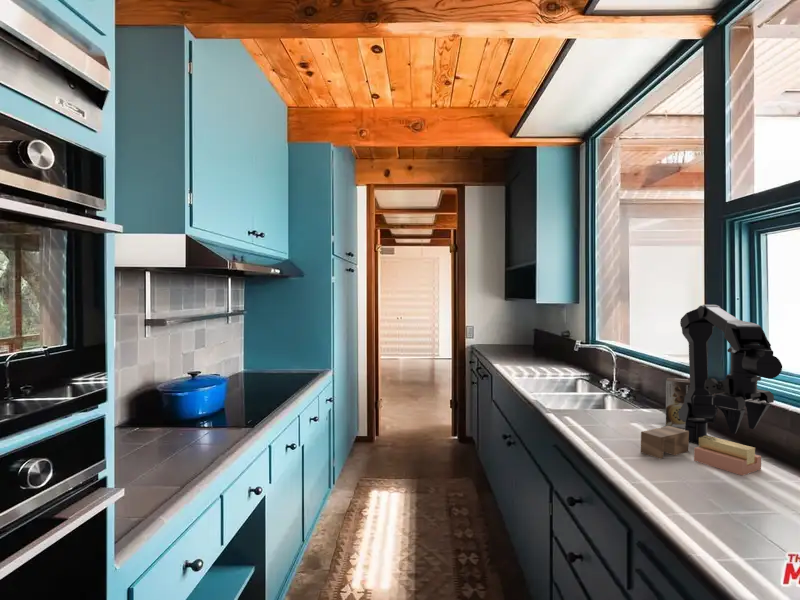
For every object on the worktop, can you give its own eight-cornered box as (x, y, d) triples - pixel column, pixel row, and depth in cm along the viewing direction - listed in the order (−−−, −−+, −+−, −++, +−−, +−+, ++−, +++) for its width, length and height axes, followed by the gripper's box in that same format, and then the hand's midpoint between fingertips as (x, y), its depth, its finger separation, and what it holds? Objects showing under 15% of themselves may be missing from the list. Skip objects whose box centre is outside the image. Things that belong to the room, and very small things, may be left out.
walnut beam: (668, 445, 144) (668, 425, 143) (688, 451, 138) (688, 431, 138) (640, 452, 137) (641, 431, 137) (660, 458, 132) (661, 437, 132)
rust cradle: (712, 455, 135) (713, 443, 135) (761, 469, 125) (761, 456, 125) (694, 460, 131) (694, 447, 131) (742, 475, 120) (742, 461, 120)
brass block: (698, 451, 132) (698, 437, 132) (706, 449, 134) (706, 435, 134) (746, 465, 122) (747, 450, 122) (754, 463, 124) (755, 447, 124)
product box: (696, 425, 165) (697, 379, 165) (695, 430, 160) (696, 382, 159) (666, 421, 170) (667, 376, 170) (664, 426, 165) (665, 379, 164)
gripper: (729, 365, 136) (728, 419, 136) (691, 369, 127) (690, 427, 127) (775, 371, 126) (774, 429, 126) (737, 376, 117) (736, 439, 117)
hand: (742, 431), depth 124 cm, fingers open, 9 cm apart
